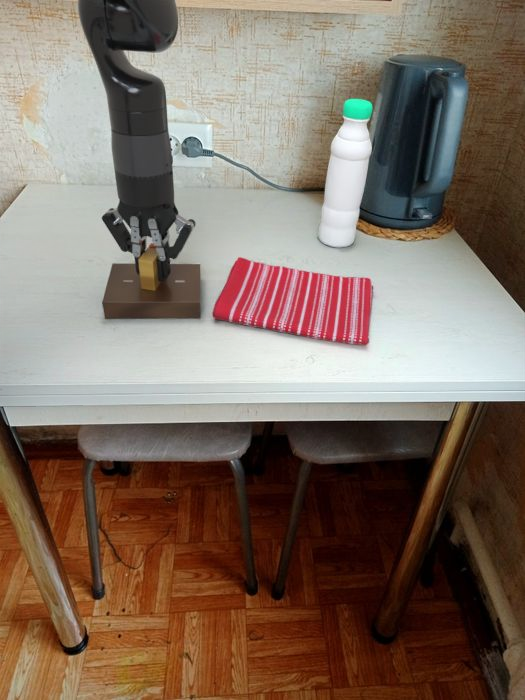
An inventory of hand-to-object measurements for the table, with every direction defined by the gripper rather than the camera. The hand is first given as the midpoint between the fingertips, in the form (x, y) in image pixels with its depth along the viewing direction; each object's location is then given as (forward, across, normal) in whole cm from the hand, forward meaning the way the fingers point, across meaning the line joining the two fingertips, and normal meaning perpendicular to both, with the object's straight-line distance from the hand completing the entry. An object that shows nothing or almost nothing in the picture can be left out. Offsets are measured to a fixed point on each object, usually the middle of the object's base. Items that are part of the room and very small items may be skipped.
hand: (154, 277), depth 77 cm
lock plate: (+4, 0, 0) cm, 4 cm away
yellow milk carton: (+1, 0, 0) cm, 1 cm away
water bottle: (+4, +26, +28) cm, 39 cm away
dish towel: (+4, +22, +4) cm, 22 cm away
